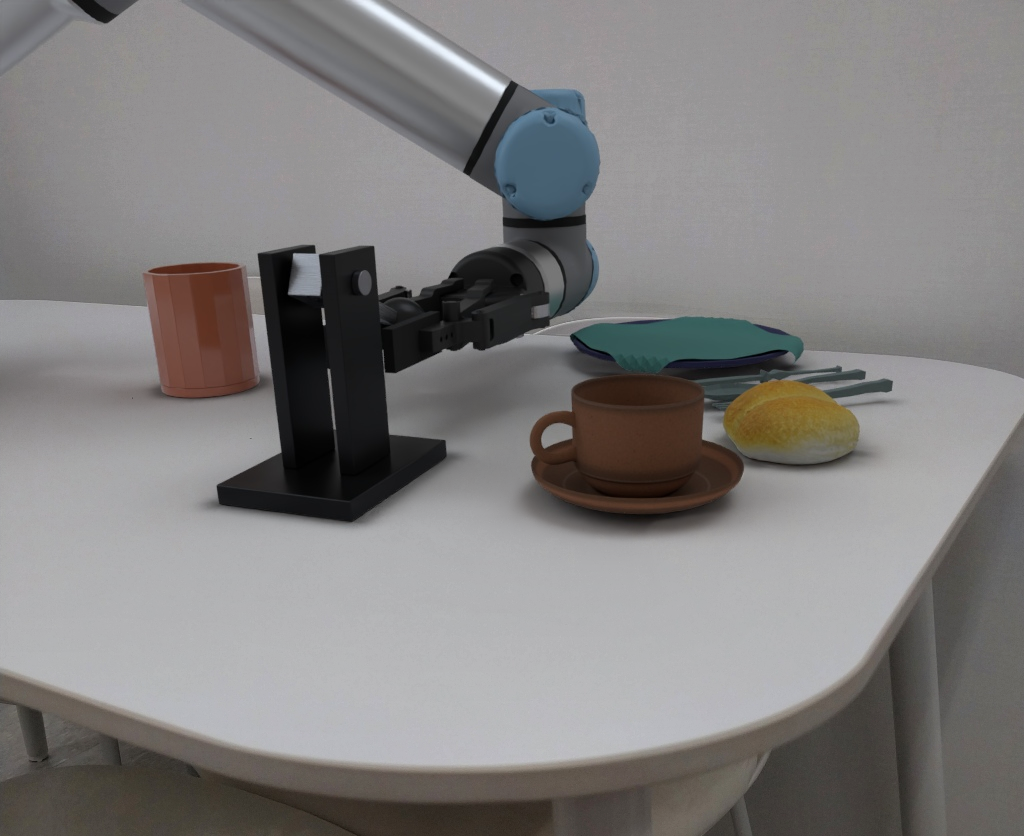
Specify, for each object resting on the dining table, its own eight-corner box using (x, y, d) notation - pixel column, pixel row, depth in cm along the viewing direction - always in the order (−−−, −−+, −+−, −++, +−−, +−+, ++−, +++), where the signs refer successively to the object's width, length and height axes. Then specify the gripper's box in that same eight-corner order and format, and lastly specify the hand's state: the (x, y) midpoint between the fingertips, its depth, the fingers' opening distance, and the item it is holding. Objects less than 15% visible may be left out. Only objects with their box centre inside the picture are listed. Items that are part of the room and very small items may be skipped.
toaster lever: (386, 355, 67) (393, 304, 67) (432, 358, 66) (439, 306, 66) (275, 305, 55) (283, 242, 55) (329, 307, 53) (338, 243, 54)
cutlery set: (728, 331, 100) (730, 309, 99) (918, 400, 73) (922, 370, 72) (545, 347, 95) (544, 324, 94) (675, 428, 68) (676, 395, 67)
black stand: (329, 445, 67) (308, 237, 62) (447, 457, 63) (435, 239, 58) (218, 504, 56) (182, 260, 51) (352, 522, 53) (327, 264, 48)
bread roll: (747, 471, 59) (751, 407, 57) (712, 430, 67) (714, 373, 66) (881, 465, 59) (888, 401, 58) (829, 424, 68) (834, 368, 66)
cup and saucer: (621, 551, 48) (622, 432, 46) (492, 487, 58) (488, 386, 55) (787, 499, 54) (796, 392, 52) (646, 449, 64) (648, 356, 61)
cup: (140, 394, 82) (119, 273, 78) (203, 372, 89) (187, 261, 85) (219, 400, 79) (202, 275, 75) (278, 378, 86) (264, 262, 82)
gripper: (600, 342, 79) (482, 418, 58) (417, 333, 85) (254, 398, 65) (600, 247, 76) (477, 292, 56) (411, 244, 82) (239, 284, 62)
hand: (358, 349), depth 60 cm, fingers closed on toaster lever, 4 cm apart
